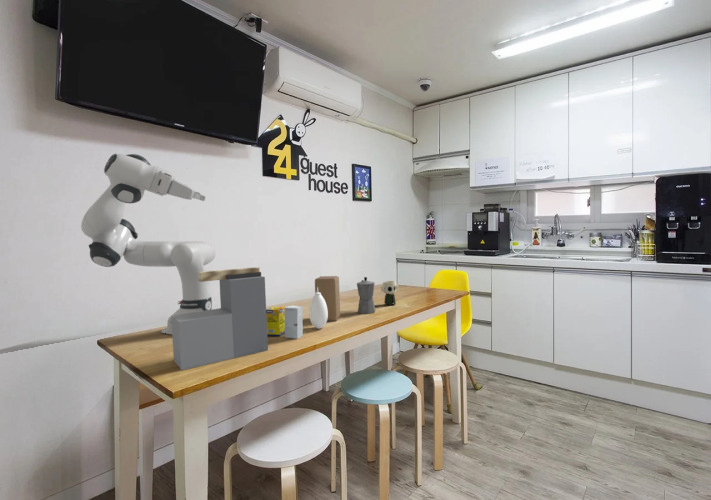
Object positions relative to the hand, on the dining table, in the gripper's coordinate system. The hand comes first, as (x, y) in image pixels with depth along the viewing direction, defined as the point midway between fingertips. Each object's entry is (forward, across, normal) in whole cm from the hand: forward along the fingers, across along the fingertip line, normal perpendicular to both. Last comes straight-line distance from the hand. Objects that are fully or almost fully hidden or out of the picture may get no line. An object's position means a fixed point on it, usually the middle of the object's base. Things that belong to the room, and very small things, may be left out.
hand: (202, 197), depth 131 cm
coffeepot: (+93, +2, -26) cm, 96 cm away
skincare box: (+46, +22, -39) cm, 64 cm away
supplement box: (+42, +14, -42) cm, 61 cm away
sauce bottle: (+59, +16, -35) cm, 71 cm away
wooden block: (+71, +4, -34) cm, 79 cm away
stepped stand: (+19, +26, -47) cm, 57 cm away
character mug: (+112, -3, -20) cm, 114 cm away
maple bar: (+14, +20, -22) cm, 33 cm away
